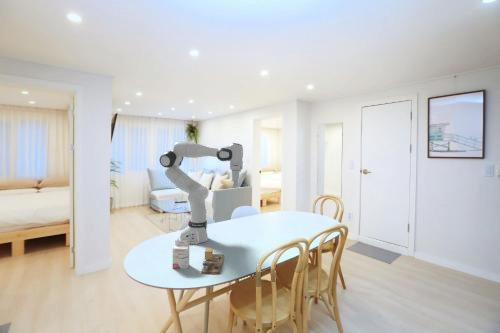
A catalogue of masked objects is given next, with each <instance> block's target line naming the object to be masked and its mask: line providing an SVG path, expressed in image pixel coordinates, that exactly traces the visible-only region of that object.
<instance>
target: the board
mask: <svg viewBox="0 0 500 333" xmlns="http://www.w3.org/2000/svg"><path fill="white" fill-rule="evenodd" d="M213 257H218V258H219V261H217V260H218V258H212V260H204V261H203V262H202V268H201V271H200V272H201V274H207V275H209V274H210V275H211V274H212V275H220V274H221V270H222V266H223V263H224V262H223V261H224V258H225V254H222V253H221V254H220V253H218V254H217V253H213Z"/></svg>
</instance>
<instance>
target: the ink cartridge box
mask: <svg viewBox="0 0 500 333" xmlns="http://www.w3.org/2000/svg"><path fill="white" fill-rule="evenodd" d="M180 242H185V243H180ZM189 266H190V244H189V241H187V240H177V239H175V243H174V246H173V248H172V269H185V270H186V269H188V268H189Z"/></svg>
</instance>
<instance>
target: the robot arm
mask: <svg viewBox="0 0 500 333" xmlns="http://www.w3.org/2000/svg"><path fill="white" fill-rule="evenodd" d="M203 157H215V158H217V159H218V161H221V162H229V170H230V171H231V179H232V182H233V188H235V189H237V187H238V181H239V180H240V172H242V171H241V170H243V165H244V164H243V163H244V161H243V158H244V148H243V145H242V144H240V143H235V142H231V143H230V144H229V145H226V146H223V147H219V148H215V147H209V146H206V145H204V144H203V145H202V144H200V143H197V142H194V141H176V142H175V143H174V145H173V148H172V150H169V151H166V152H164V153H162V154H161V156H160V157H159V164H160V165H161V166H162V167H163V168H165V172H164V174H165V176H166V178H167V179H168V180H169V181H170V182H171V183H172V184H174V185H175V187H177V188H178V189H179V190H181V191H182V192H185V193H187V194H188V195H187V200H188V202H189V206H190V219H189V220H188V222H187V225H188V226H186V227H185V228H183V229H182V230H181V231H180V234H179V236H178V237H177V238H176V240H187V241H189V245H198V244H201V243H205V242H207V241H208V240H209V236H208V232H207V231H208V230H207V228H208V221H207V209H206V202H205V201H206V199H207V198H208V197H209V193H210V192H209V189H208V188H207V187H206V186H204V185H203V184H201V183H199V182H198V181H197V180H194V179H193V178H192V177H190V176H189V175H188V174H186V172H184V171H183V170H182V169H181V168H180V167H181V165H182V163H183V161H184V158H191V159H193V158H194V159H195V158H203ZM180 243H185V242H180Z"/></svg>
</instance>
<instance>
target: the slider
mask: <svg viewBox="0 0 500 333" xmlns="http://www.w3.org/2000/svg"><path fill="white" fill-rule="evenodd" d="M213 252H214V248H205V250H204V261H206V260H212V258H218V257H213V254H214V253H213ZM217 261H219V258H218V260H217Z"/></svg>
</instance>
